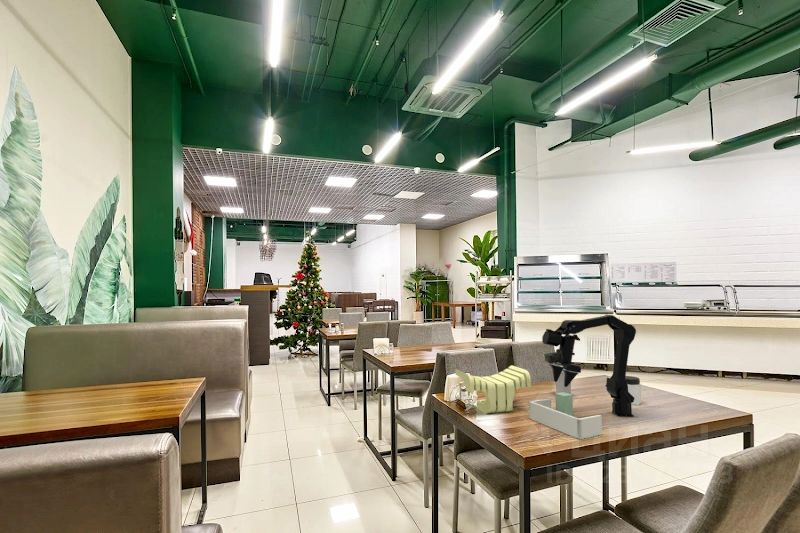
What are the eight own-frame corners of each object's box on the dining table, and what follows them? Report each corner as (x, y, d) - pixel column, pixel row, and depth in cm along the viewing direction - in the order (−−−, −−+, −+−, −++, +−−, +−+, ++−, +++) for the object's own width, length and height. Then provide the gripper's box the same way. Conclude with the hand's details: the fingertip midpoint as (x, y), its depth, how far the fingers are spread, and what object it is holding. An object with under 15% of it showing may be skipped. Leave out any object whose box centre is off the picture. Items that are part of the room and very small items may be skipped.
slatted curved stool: (470, 417, 164) (470, 375, 165) (456, 406, 179) (455, 368, 180) (531, 411, 171) (530, 371, 173) (512, 401, 187) (511, 365, 188)
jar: (645, 404, 180) (644, 379, 181) (631, 406, 178) (630, 380, 179) (630, 399, 189) (629, 375, 190) (616, 400, 187) (615, 376, 188)
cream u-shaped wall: (549, 414, 166) (549, 398, 167) (602, 434, 142) (601, 415, 143) (529, 418, 162) (528, 401, 162) (580, 439, 138) (579, 419, 138)
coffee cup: (564, 399, 190) (562, 368, 192) (549, 394, 199) (548, 365, 200) (577, 397, 194) (576, 367, 195) (563, 392, 203) (561, 364, 204)
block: (564, 423, 155) (563, 392, 156) (573, 426, 151) (572, 394, 152) (556, 424, 153) (555, 393, 154) (565, 428, 149) (563, 396, 150)
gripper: (539, 342, 175) (533, 376, 174) (558, 348, 157) (552, 385, 155) (562, 347, 176) (556, 380, 175) (584, 353, 157) (578, 391, 156)
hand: (560, 384), depth 165 cm, fingers open, 9 cm apart
